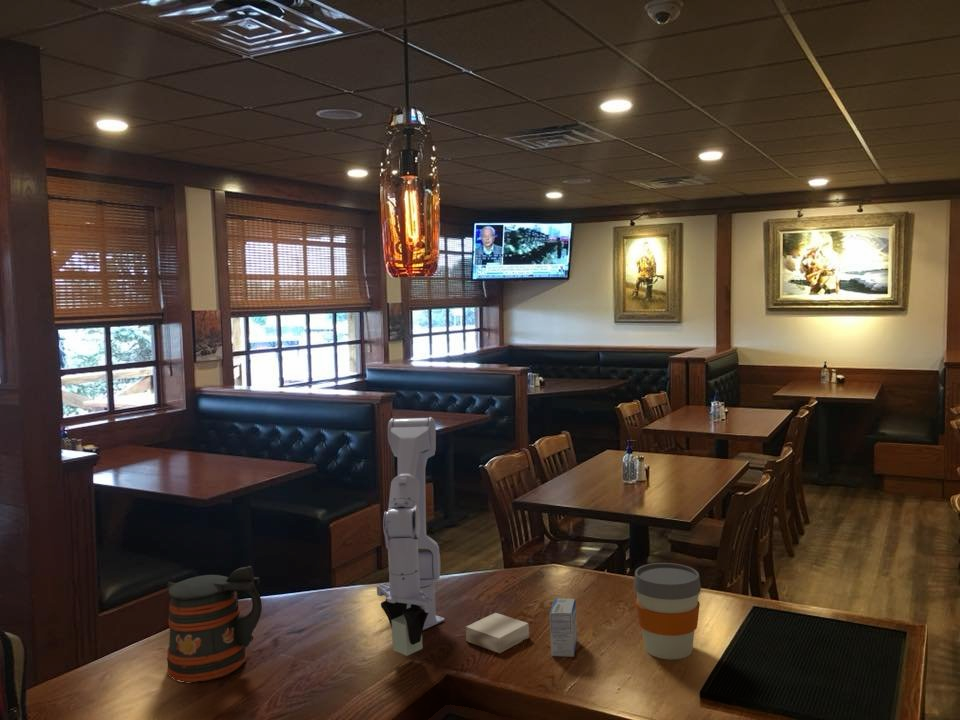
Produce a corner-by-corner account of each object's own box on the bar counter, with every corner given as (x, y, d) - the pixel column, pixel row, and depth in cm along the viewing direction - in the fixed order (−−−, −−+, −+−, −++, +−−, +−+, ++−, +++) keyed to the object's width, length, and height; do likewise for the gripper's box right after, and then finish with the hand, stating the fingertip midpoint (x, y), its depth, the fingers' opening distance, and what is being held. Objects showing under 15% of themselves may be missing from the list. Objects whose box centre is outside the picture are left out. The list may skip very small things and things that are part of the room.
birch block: (466, 641, 161) (465, 626, 161) (495, 626, 167) (495, 612, 167) (499, 653, 155) (499, 638, 154) (529, 637, 161) (528, 623, 161)
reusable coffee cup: (706, 640, 157) (705, 566, 156) (695, 668, 145) (694, 588, 144) (643, 631, 162) (641, 559, 161) (628, 657, 151) (626, 580, 150)
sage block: (393, 650, 152) (391, 619, 152) (408, 642, 155) (407, 613, 155) (407, 655, 150) (405, 625, 149) (422, 648, 153) (421, 618, 152)
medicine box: (574, 658, 152) (572, 613, 151) (550, 656, 152) (549, 612, 152) (577, 640, 159) (576, 598, 159) (555, 639, 160) (553, 597, 159)
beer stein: (279, 648, 161) (273, 552, 159) (254, 683, 146) (247, 577, 145) (187, 649, 162) (180, 553, 160) (153, 684, 147) (146, 579, 146)
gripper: (363, 568, 153) (366, 636, 154) (414, 584, 143) (417, 657, 144) (391, 558, 158) (394, 624, 159) (442, 573, 149) (445, 643, 150)
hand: (407, 639), depth 152 cm, fingers closed on sage block, 4 cm apart
